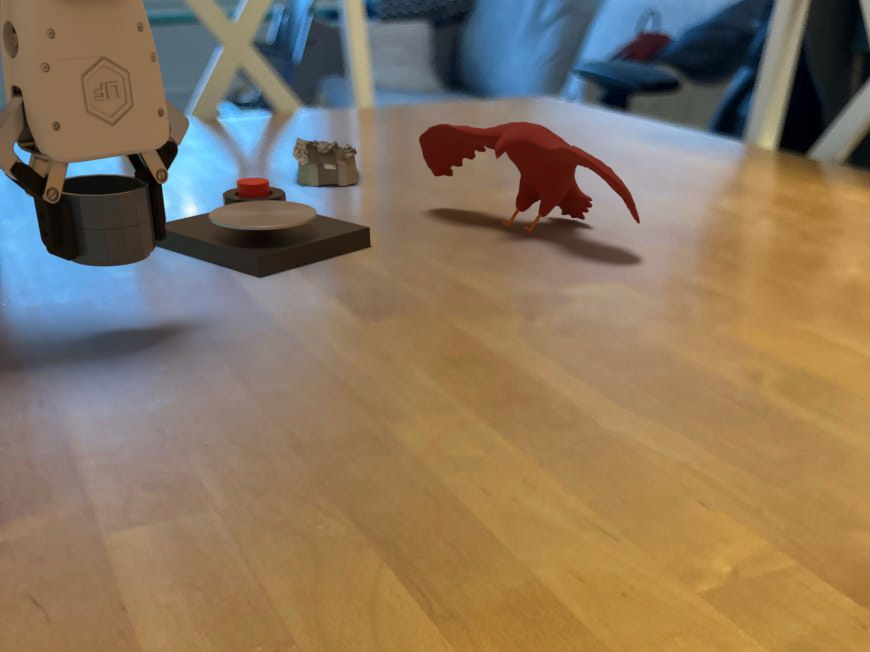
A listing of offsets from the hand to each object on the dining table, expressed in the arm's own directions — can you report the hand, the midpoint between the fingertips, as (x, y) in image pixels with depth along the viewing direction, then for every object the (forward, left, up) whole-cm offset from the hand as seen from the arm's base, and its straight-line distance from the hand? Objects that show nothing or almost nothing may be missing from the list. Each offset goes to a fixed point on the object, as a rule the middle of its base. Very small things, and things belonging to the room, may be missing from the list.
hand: (108, 244), depth 82 cm
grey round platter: (-10, +23, -4) cm, 25 cm away
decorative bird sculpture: (+4, +47, -7) cm, 48 cm away
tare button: (-18, +28, -4) cm, 34 cm away
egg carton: (-30, +49, -7) cm, 58 cm away
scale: (-12, +24, -7) cm, 28 cm away
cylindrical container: (0, 0, -1) cm, 1 cm away
